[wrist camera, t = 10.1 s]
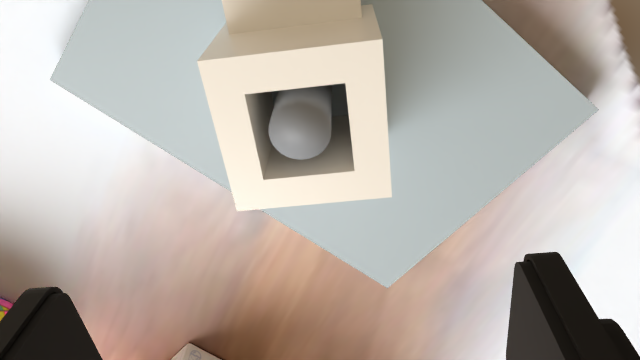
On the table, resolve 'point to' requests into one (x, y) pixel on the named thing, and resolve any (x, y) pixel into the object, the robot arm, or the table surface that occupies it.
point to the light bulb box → (193, 354)
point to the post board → (346, 113)
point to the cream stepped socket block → (291, 73)
